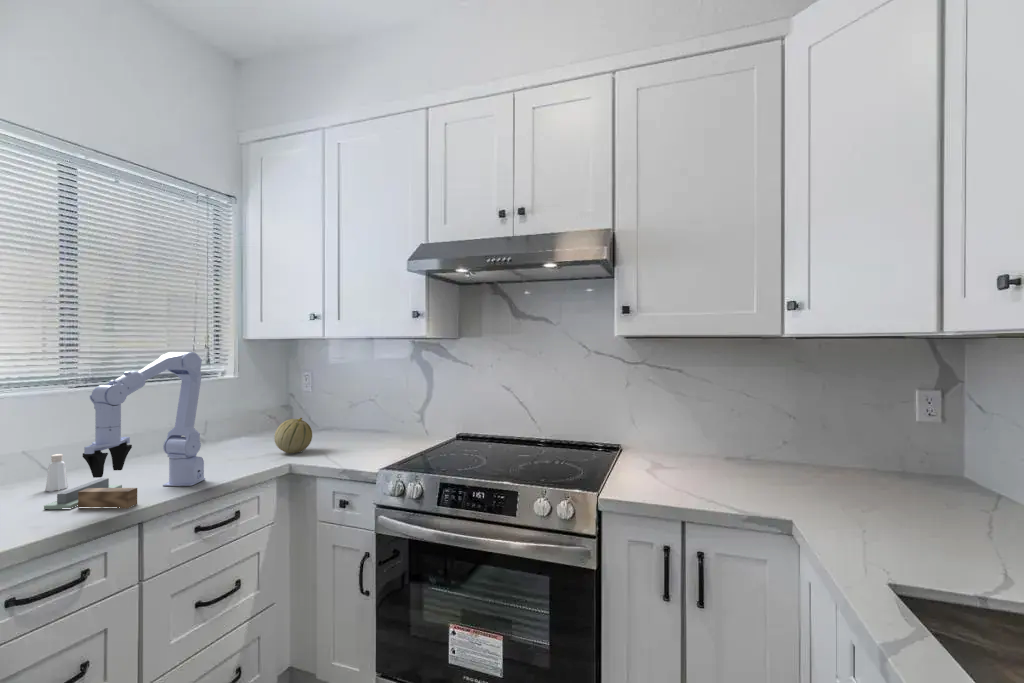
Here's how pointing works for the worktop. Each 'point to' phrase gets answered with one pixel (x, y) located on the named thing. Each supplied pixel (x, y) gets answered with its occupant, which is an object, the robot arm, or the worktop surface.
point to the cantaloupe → (293, 436)
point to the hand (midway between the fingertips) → (108, 473)
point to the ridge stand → (71, 496)
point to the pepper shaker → (56, 474)
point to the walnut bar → (107, 497)
